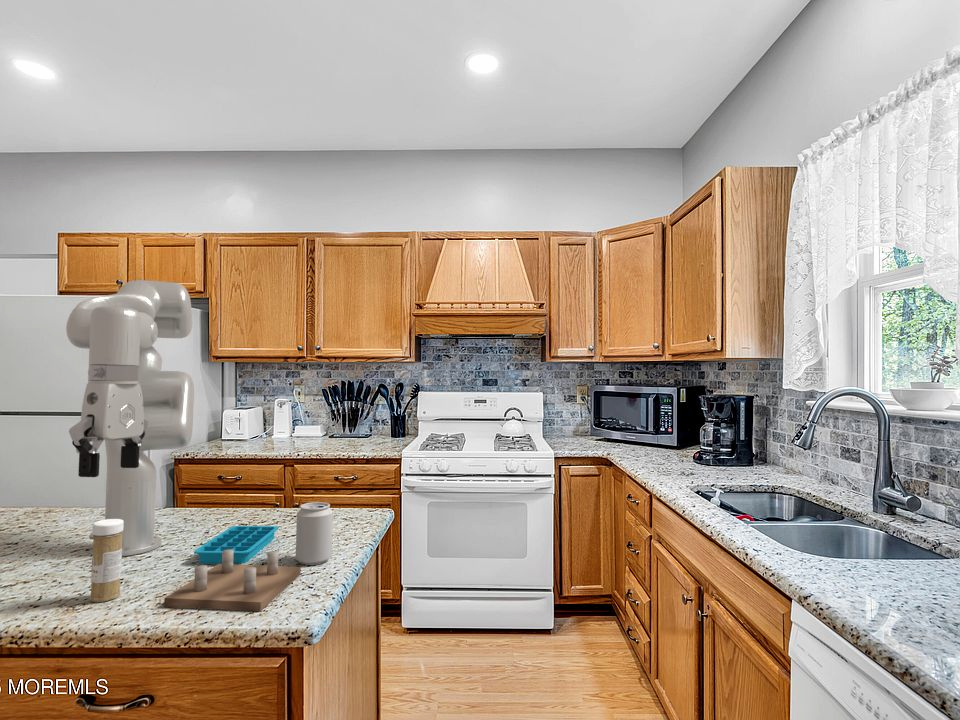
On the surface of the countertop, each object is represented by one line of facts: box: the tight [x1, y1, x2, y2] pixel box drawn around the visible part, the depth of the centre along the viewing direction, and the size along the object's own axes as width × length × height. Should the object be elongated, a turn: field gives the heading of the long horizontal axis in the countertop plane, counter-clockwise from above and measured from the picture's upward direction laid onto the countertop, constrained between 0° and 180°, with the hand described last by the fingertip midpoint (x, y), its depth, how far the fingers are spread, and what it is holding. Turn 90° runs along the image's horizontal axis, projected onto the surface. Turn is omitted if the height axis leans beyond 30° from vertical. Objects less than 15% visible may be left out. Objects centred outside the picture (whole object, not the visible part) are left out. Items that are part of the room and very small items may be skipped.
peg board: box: [163, 549, 302, 612], centre depth 100 cm, size 17×17×6 cm
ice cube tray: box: [193, 525, 280, 565], centre depth 123 cm, size 12×20×3 cm, turn 2°
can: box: [295, 501, 334, 566], centre depth 117 cm, size 8×8×12 cm
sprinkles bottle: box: [89, 519, 124, 603], centre depth 96 cm, size 5×5×13 cm
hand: (110, 472), depth 96 cm, fingers open, 9 cm apart
